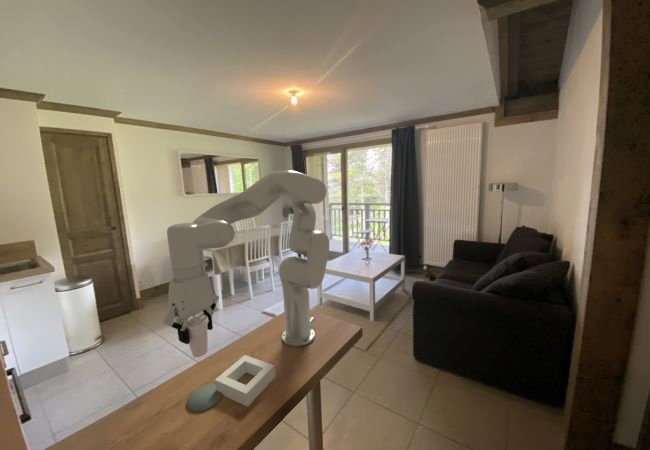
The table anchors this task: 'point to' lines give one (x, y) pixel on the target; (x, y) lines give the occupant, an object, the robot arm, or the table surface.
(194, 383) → the table surface
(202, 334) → the lidded cup with straw
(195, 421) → the table surface
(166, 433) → the table surface
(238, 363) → the holder
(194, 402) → the coaster
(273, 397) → the table surface
